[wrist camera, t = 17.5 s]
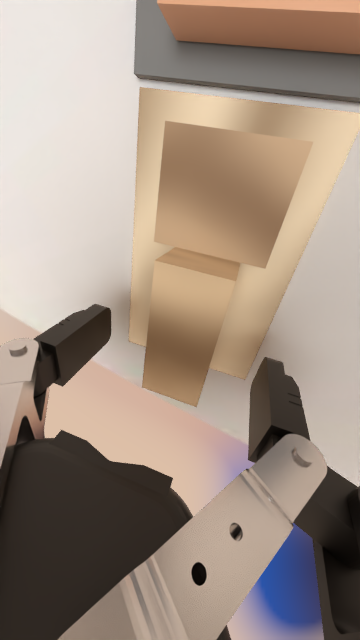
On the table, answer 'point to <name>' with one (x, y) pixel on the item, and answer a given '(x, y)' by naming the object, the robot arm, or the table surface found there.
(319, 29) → the tile
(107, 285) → the table surface
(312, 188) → the board
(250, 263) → the tan wooden block stack
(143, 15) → the mat
